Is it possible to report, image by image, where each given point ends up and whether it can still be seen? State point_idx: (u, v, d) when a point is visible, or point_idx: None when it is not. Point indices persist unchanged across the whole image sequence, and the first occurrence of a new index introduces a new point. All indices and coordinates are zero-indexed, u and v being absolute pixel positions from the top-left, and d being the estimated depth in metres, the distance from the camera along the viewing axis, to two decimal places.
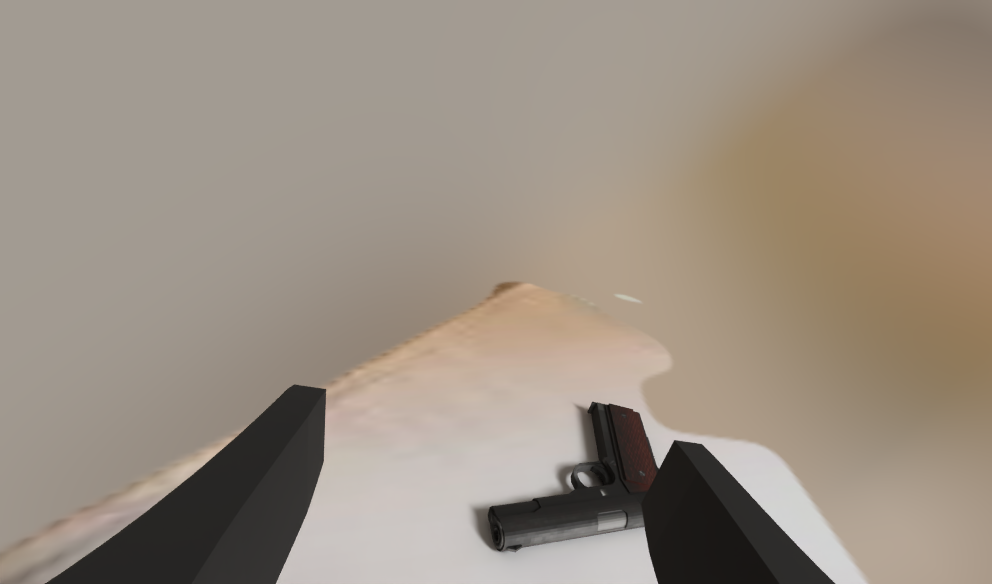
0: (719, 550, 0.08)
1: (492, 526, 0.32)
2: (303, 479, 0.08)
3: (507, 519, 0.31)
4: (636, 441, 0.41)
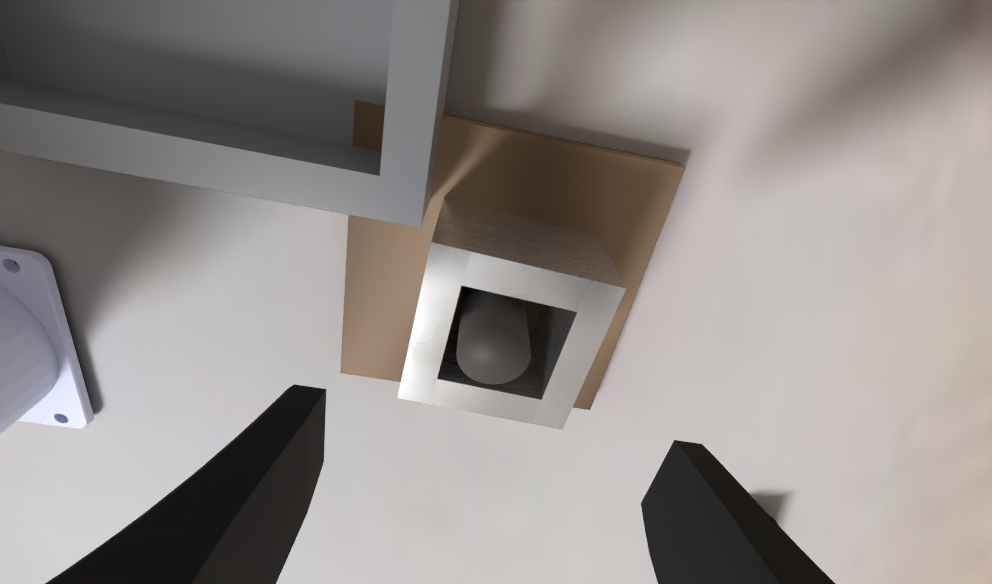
0: (719, 550, 0.08)
1: None
2: (303, 479, 0.08)
3: None
4: None
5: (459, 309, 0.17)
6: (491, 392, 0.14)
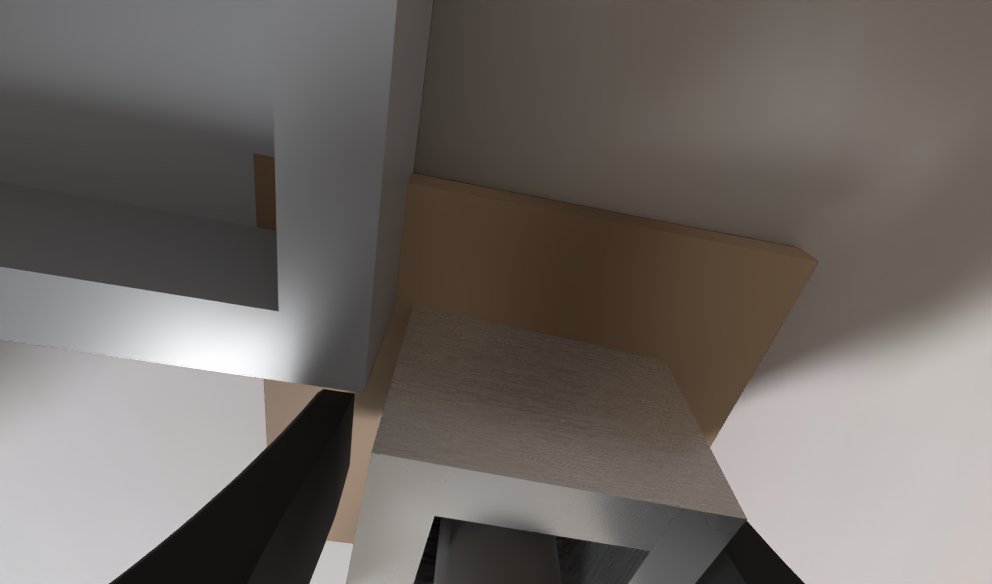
0: None
1: None
2: (334, 483, 0.09)
3: None
4: None
5: None
6: None
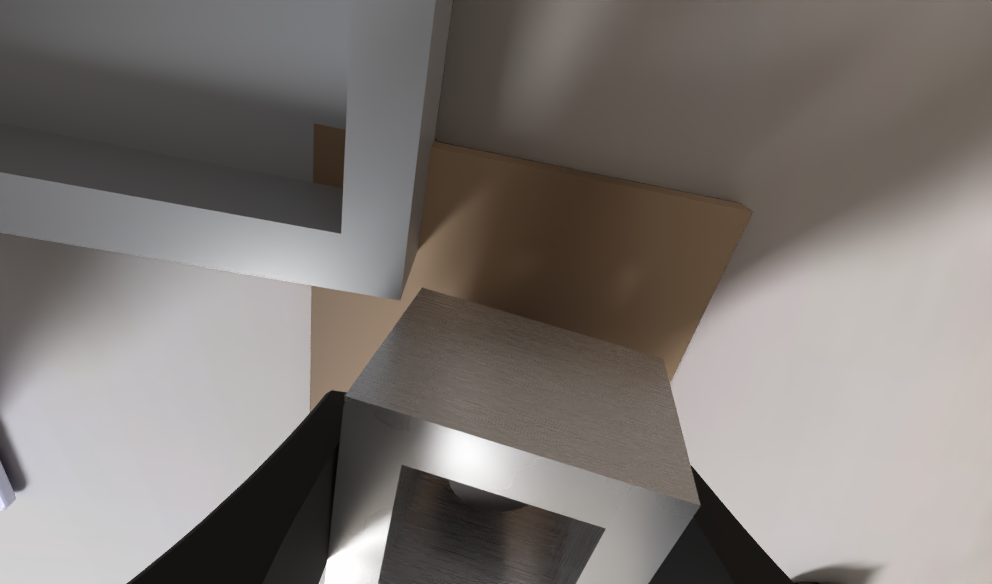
0: (678, 545, 0.08)
1: None
2: None
3: None
4: None
5: None
6: None
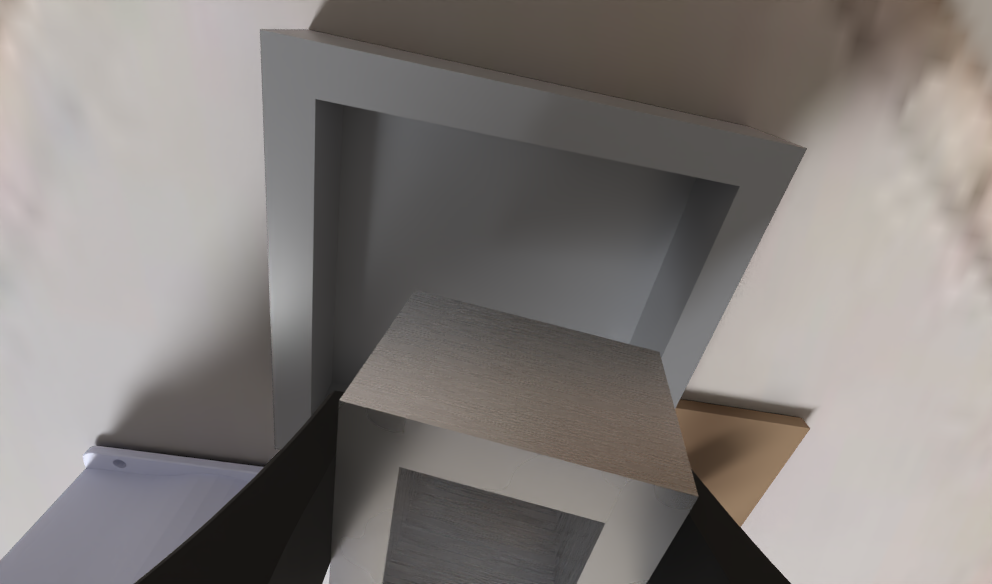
0: (675, 545, 0.08)
1: None
2: None
3: None
4: None
5: None
6: None
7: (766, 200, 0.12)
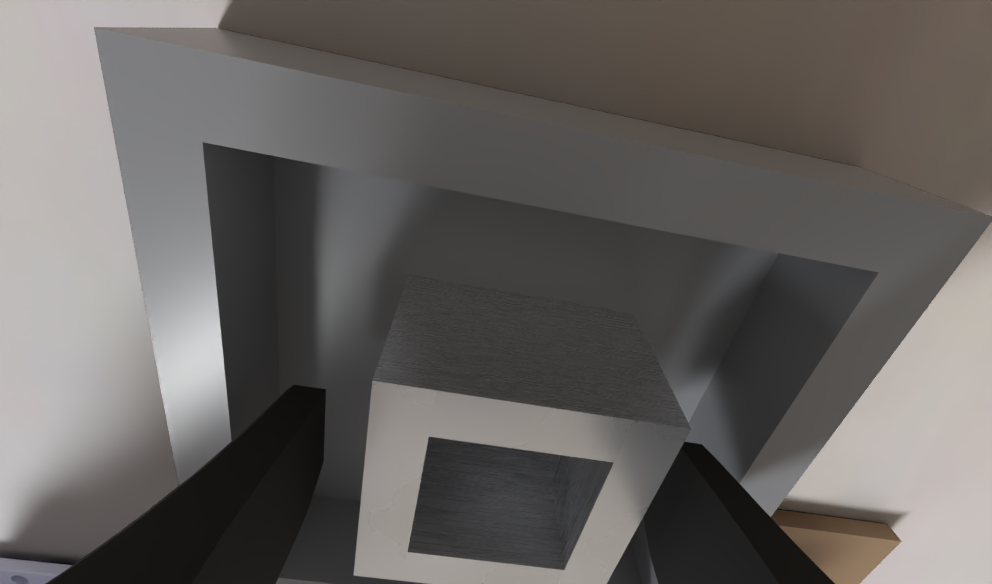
0: (719, 550, 0.08)
1: None
2: (303, 479, 0.08)
3: None
4: None
5: None
6: (489, 564, 0.10)
7: (917, 292, 0.08)
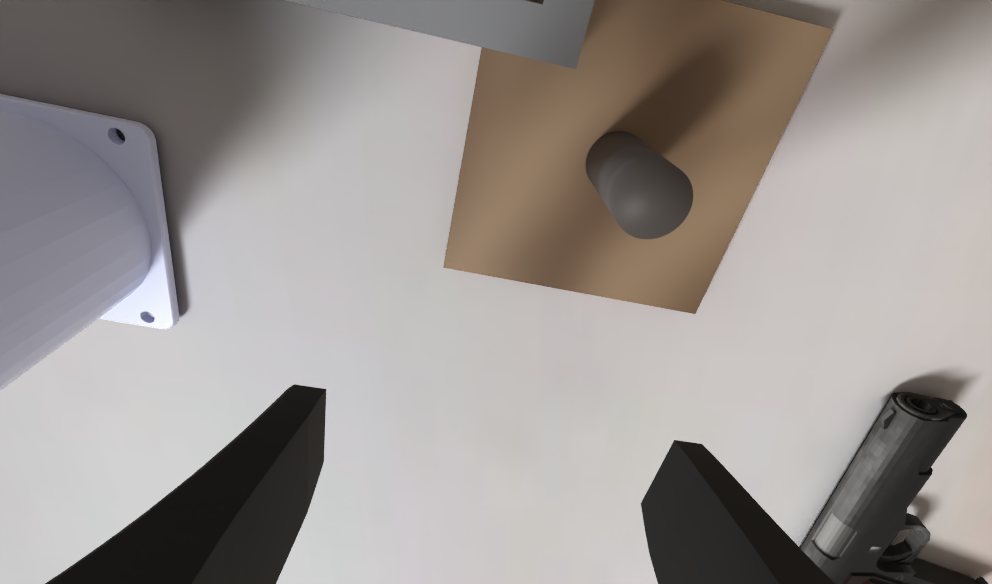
0: (719, 550, 0.08)
1: (932, 401, 0.21)
2: (303, 479, 0.08)
3: (937, 431, 0.20)
4: None
5: (576, 194, 0.16)
6: None
7: None
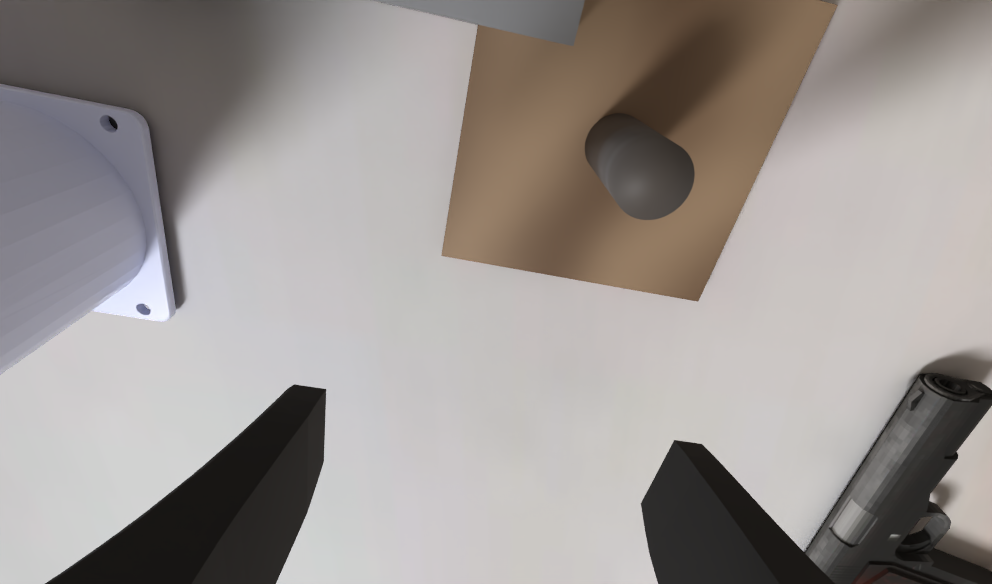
0: (719, 550, 0.08)
1: (961, 383, 0.20)
2: (303, 479, 0.08)
3: (967, 412, 0.20)
4: None
5: (575, 179, 0.16)
6: None
7: None
